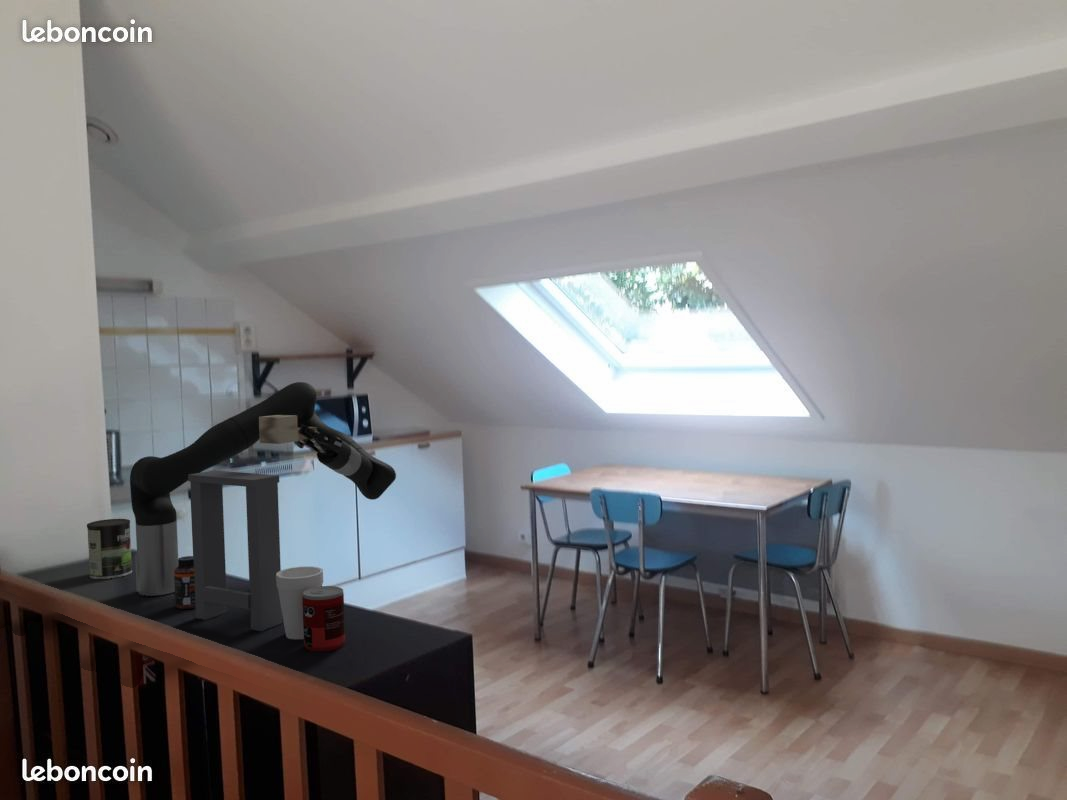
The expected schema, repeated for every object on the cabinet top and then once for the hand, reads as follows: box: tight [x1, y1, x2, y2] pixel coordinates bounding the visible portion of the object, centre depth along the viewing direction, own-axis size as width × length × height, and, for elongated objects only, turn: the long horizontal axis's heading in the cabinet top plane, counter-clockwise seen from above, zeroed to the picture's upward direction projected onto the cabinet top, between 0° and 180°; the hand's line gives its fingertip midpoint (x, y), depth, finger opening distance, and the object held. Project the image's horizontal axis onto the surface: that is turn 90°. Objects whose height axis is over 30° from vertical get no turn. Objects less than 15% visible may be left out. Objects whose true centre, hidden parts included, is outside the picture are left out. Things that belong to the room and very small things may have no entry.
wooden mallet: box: [259, 415, 317, 445], centre depth 197 cm, size 6×14×6 cm, turn 151°
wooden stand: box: [187, 470, 284, 632], centre depth 182 cm, size 20×7×32 cm, turn 61°
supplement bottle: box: [174, 555, 196, 610], centre depth 194 cm, size 6×6×11 cm
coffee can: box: [86, 518, 133, 580], centre depth 223 cm, size 10×10×14 cm
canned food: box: [302, 585, 346, 652], centre depth 166 cm, size 8×8×11 cm
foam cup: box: [276, 565, 324, 640], centre depth 173 cm, size 10×9×13 cm
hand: (295, 428), depth 198 cm, fingers closed on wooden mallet, 3 cm apart
